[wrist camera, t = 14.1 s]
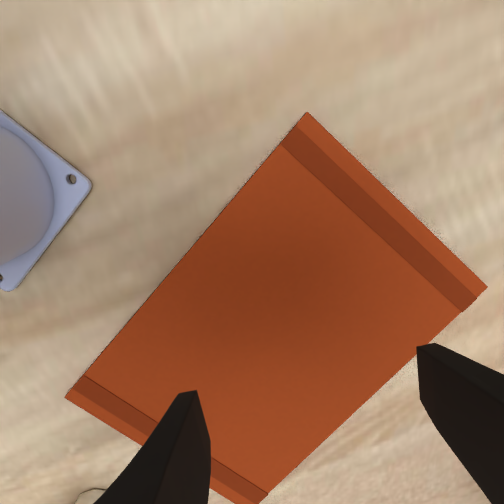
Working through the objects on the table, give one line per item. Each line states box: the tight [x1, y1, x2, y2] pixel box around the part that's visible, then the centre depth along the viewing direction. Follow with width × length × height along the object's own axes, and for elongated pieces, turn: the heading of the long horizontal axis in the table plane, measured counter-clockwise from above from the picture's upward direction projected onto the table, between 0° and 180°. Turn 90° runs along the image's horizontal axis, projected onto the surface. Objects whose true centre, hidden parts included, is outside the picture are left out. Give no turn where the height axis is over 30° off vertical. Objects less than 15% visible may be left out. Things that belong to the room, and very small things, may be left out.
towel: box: [65, 112, 487, 504], centre depth 23 cm, size 15×22×1 cm
